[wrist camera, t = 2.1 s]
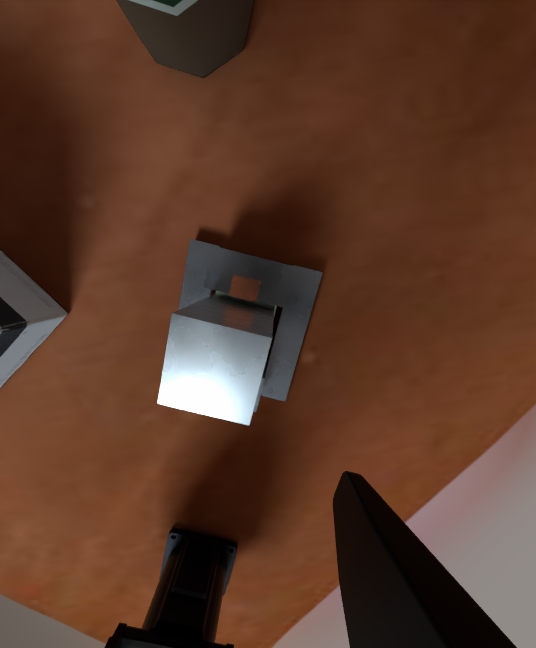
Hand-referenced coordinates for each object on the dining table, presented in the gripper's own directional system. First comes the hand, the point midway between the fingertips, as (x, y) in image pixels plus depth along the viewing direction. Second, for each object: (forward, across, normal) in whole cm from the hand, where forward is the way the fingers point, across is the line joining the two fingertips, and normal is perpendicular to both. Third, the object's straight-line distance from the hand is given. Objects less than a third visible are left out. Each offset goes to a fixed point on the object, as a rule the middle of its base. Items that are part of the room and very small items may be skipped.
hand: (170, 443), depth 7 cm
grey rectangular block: (+13, 0, 0) cm, 13 cm away
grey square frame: (+13, 0, 0) cm, 13 cm away
